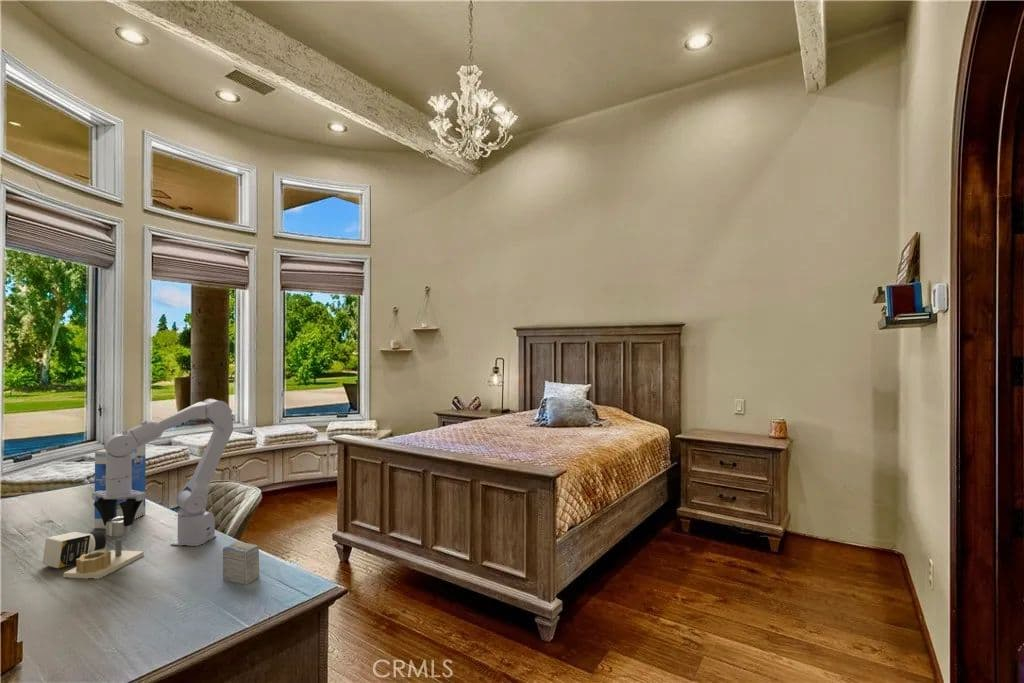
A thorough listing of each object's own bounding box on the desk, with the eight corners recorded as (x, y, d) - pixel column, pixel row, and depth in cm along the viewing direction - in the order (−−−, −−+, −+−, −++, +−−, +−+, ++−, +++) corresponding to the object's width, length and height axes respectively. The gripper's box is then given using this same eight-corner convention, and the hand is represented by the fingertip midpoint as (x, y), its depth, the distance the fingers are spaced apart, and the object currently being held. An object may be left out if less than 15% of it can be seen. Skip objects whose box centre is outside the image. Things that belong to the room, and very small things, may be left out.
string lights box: (126, 514, 174) (126, 442, 174) (147, 515, 173) (147, 443, 173) (93, 528, 160) (93, 451, 160) (115, 529, 160) (115, 451, 160)
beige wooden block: (259, 577, 127) (259, 544, 127) (245, 585, 123) (245, 551, 123) (237, 573, 130) (237, 540, 130) (222, 580, 125) (222, 547, 125)
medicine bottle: (61, 541, 131) (110, 530, 142) (45, 537, 133) (95, 527, 145) (57, 568, 130) (107, 555, 141) (41, 564, 133) (92, 552, 144)
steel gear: (135, 528, 140) (136, 516, 140) (119, 536, 135) (120, 523, 135) (117, 527, 140) (117, 515, 140) (100, 535, 135) (101, 522, 135)
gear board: (143, 555, 140) (144, 536, 140) (98, 578, 126) (99, 557, 126) (111, 554, 141) (112, 535, 141) (63, 577, 127) (63, 556, 127)
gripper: (81, 480, 134) (81, 529, 134) (130, 481, 133) (130, 531, 133) (105, 473, 141) (104, 520, 141) (151, 474, 140) (151, 521, 140)
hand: (118, 524), depth 137 cm, fingers closed on steel gear, 6 cm apart
